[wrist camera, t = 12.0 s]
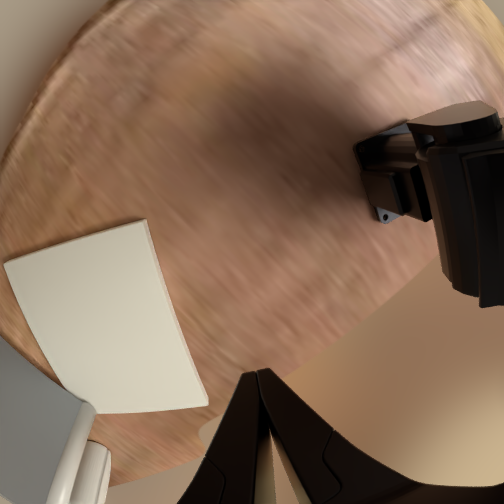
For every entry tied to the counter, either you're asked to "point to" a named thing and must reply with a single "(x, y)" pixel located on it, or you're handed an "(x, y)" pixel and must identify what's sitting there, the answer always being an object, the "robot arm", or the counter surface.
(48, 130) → the counter surface
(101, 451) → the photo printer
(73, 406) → the door
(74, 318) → the board
